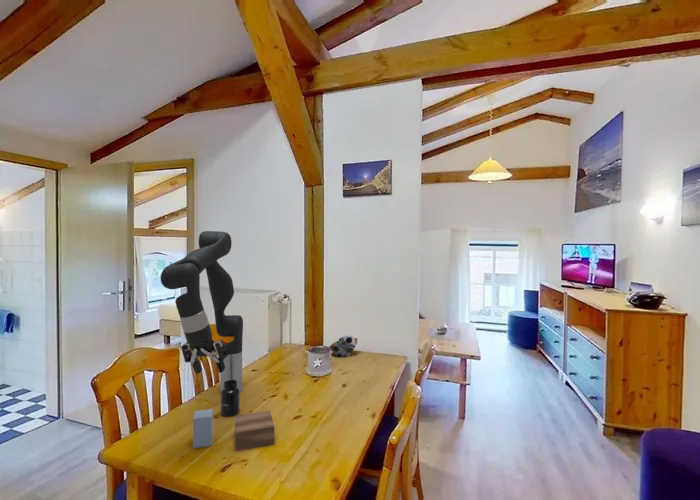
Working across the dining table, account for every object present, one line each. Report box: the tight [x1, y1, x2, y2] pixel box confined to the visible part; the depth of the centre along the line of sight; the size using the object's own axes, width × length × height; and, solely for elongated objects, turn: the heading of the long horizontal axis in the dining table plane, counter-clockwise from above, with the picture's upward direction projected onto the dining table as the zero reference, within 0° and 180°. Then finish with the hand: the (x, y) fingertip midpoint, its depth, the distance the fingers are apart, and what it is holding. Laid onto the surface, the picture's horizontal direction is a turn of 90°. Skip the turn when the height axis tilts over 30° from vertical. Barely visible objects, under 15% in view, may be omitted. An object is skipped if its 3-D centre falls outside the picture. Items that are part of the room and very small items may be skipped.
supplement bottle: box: [220, 380, 241, 417], centre depth 140 cm, size 7×7×12 cm
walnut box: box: [234, 410, 275, 452], centre depth 122 cm, size 12×12×6 cm
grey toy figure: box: [328, 335, 358, 358], centre depth 213 cm, size 15×12×14 cm
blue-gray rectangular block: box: [192, 408, 214, 449], centre depth 119 cm, size 6×6×10 cm
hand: (210, 371), depth 116 cm, fingers open, 8 cm apart
